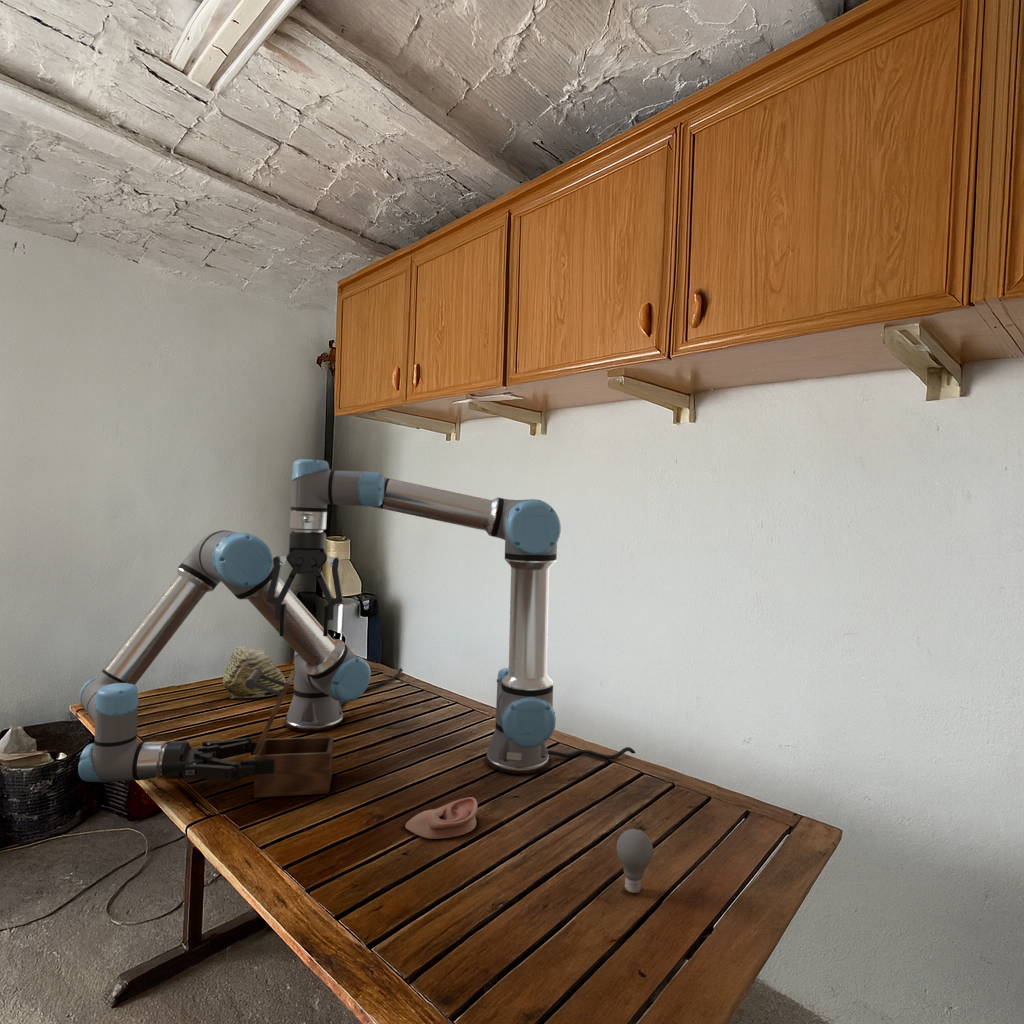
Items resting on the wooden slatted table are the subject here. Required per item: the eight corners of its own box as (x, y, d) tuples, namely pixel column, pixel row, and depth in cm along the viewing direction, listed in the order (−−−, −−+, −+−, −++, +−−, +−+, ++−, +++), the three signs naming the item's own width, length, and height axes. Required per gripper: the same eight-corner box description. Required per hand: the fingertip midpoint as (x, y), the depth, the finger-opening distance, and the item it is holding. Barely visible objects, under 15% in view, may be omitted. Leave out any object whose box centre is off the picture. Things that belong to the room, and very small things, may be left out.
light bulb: (610, 879, 108) (613, 822, 108) (644, 879, 109) (647, 822, 109) (619, 902, 102) (622, 840, 102) (655, 901, 103) (658, 840, 103)
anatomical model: (399, 813, 120) (420, 787, 131) (398, 834, 120) (419, 806, 131) (467, 823, 117) (482, 796, 128) (466, 845, 117) (481, 815, 128)
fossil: (218, 695, 195) (220, 647, 195) (278, 685, 208) (279, 640, 207) (228, 703, 189) (230, 653, 188) (289, 692, 201) (290, 645, 201)
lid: (296, 671, 142) (260, 657, 141) (289, 683, 133) (251, 669, 131) (265, 737, 141) (229, 724, 140) (256, 754, 132) (217, 740, 130)
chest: (332, 774, 144) (333, 736, 144) (328, 793, 135) (329, 753, 135) (262, 777, 142) (263, 738, 141) (253, 797, 132) (254, 756, 132)
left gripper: (182, 756, 144) (285, 753, 148) (145, 803, 122) (267, 797, 127) (183, 723, 144) (286, 721, 148) (146, 764, 122) (269, 760, 126)
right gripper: (252, 530, 132) (249, 638, 132) (357, 533, 136) (353, 638, 136) (260, 528, 139) (256, 631, 139) (358, 531, 143) (354, 631, 144)
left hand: (277, 756), depth 137 cm, fingers closed on chest, 10 cm apart
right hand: (304, 634), depth 138 cm, fingers open, 8 cm apart
